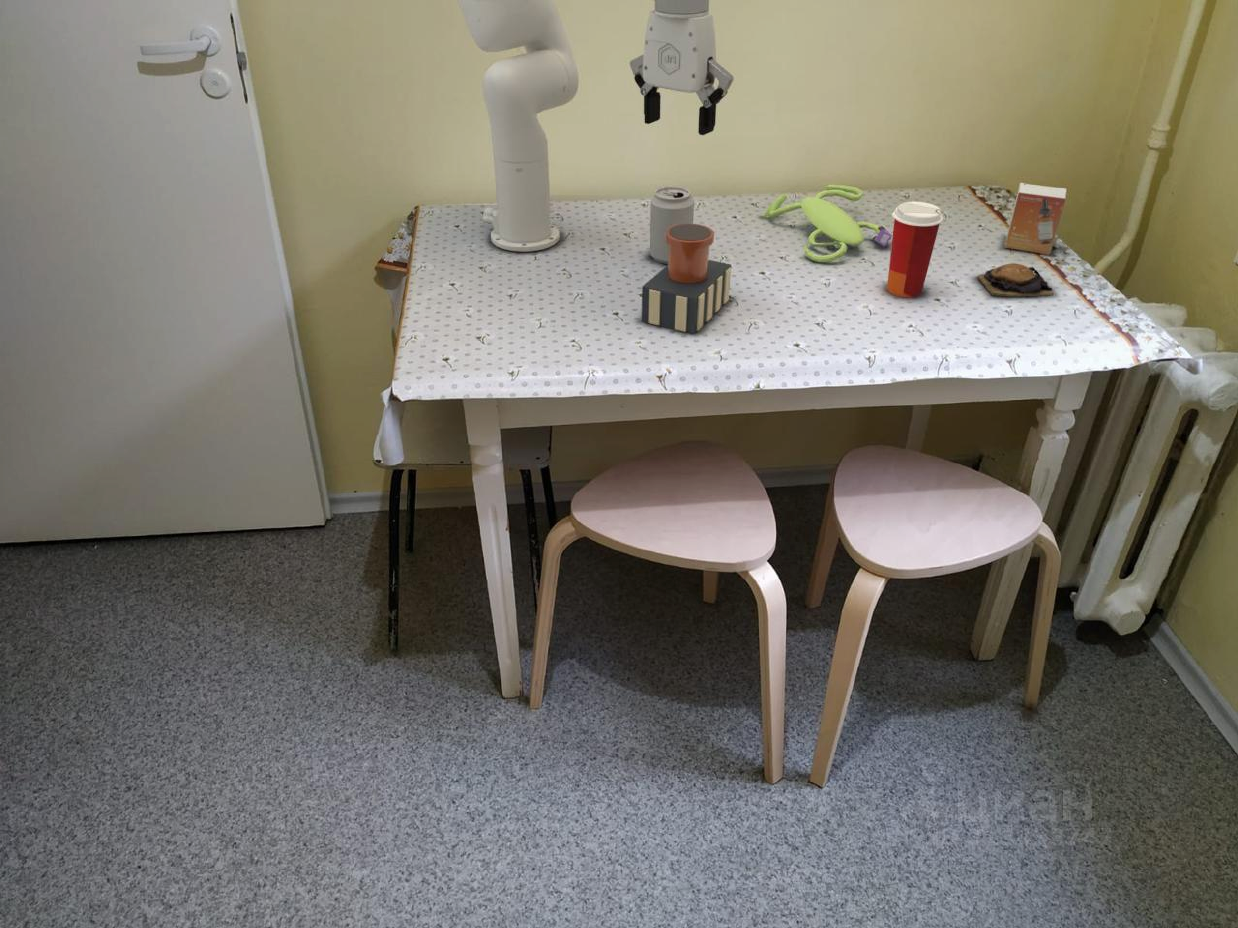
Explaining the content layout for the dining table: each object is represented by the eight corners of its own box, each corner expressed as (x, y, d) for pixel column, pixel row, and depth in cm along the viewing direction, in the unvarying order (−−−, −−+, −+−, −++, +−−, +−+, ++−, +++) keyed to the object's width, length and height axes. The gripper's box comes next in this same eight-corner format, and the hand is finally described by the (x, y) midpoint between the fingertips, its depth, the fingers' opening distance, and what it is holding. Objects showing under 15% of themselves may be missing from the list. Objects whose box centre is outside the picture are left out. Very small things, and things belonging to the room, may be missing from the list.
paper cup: (930, 284, 166) (946, 203, 158) (926, 303, 161) (942, 220, 152) (882, 277, 169) (896, 197, 160) (877, 296, 163) (890, 214, 155)
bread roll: (992, 299, 162) (997, 278, 160) (974, 277, 169) (979, 256, 167) (1055, 297, 163) (1061, 276, 160) (1035, 275, 169) (1041, 255, 167)
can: (688, 267, 172) (691, 200, 165) (645, 264, 173) (647, 197, 166) (694, 250, 178) (697, 185, 171) (653, 247, 179) (654, 182, 172)
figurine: (845, 204, 197) (849, 176, 194) (909, 257, 176) (914, 227, 172) (758, 212, 193) (760, 184, 190) (812, 267, 172) (815, 236, 169)
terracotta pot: (656, 279, 154) (657, 236, 150) (676, 262, 159) (677, 219, 155) (700, 288, 151) (702, 245, 147) (718, 271, 156) (721, 228, 152)
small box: (1003, 248, 179) (1017, 192, 173) (1006, 237, 183) (1019, 181, 177) (1050, 255, 176) (1066, 198, 170) (1052, 244, 181) (1067, 187, 174)
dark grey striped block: (640, 322, 155) (641, 287, 151) (678, 287, 165) (680, 253, 162) (695, 335, 151) (696, 299, 148) (730, 299, 162) (733, 264, 158)
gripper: (616, 0, 139) (617, 123, 149) (720, 13, 131) (714, 144, 140) (647, -8, 144) (646, 112, 154) (749, 4, 136) (741, 131, 145)
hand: (678, 127), depth 147 cm, fingers open, 9 cm apart
